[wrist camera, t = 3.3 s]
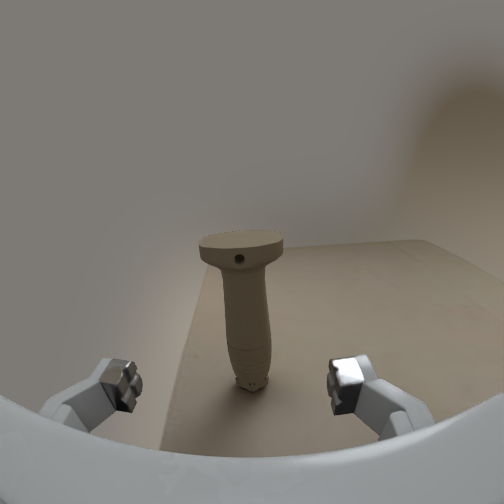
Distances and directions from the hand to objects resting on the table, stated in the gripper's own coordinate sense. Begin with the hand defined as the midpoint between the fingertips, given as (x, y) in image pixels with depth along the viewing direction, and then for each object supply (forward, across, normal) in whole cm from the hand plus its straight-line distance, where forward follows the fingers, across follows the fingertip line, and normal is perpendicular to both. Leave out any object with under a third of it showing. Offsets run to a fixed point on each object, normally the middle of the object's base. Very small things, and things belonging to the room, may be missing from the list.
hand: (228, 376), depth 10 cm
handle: (+12, 0, +13) cm, 18 cm away
